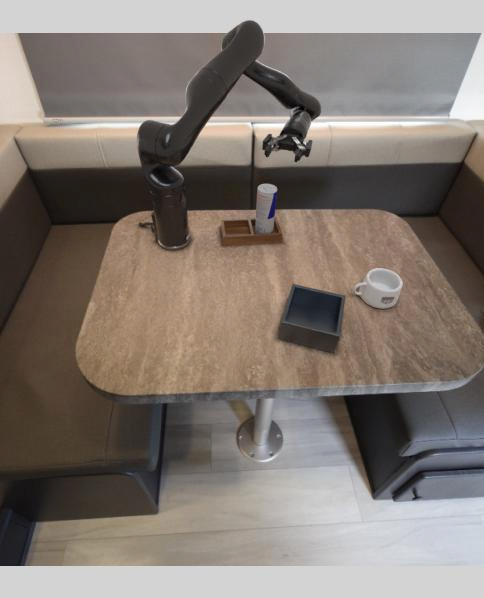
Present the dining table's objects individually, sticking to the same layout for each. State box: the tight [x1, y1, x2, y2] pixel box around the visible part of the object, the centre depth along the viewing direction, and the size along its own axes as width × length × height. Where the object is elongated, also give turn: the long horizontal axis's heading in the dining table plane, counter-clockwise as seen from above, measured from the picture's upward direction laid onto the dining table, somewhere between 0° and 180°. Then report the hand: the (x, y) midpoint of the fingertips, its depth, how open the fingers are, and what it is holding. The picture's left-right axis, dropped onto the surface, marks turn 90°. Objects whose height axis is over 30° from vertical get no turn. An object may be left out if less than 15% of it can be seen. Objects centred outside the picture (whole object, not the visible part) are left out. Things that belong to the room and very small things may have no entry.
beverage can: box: [255, 183, 278, 234], centre depth 102 cm, size 6×6×15 cm
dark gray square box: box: [277, 283, 346, 354], centre depth 81 cm, size 13×13×6 cm
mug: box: [352, 267, 404, 310], centre depth 88 cm, size 12×10×6 cm
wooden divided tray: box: [220, 216, 283, 246], centre depth 106 cm, size 9×17×3 cm, turn 97°
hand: (281, 156), depth 100 cm, fingers open, 8 cm apart
